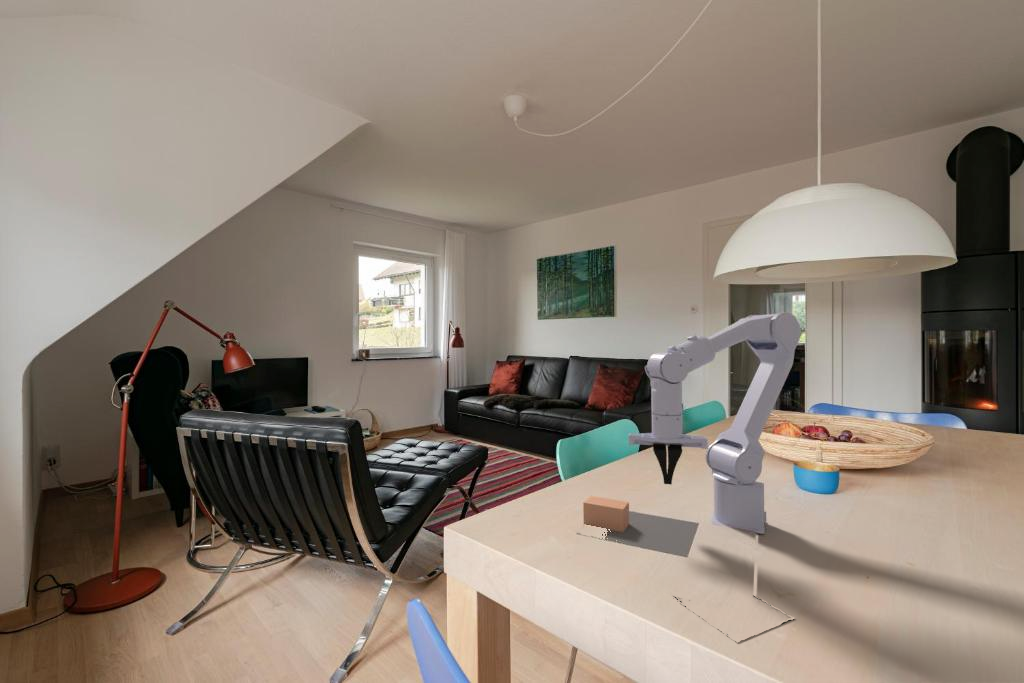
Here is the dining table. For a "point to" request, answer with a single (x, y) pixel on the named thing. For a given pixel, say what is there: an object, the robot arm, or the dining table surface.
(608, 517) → the terracotta block
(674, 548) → the charcoal mat
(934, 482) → the dining table surface
